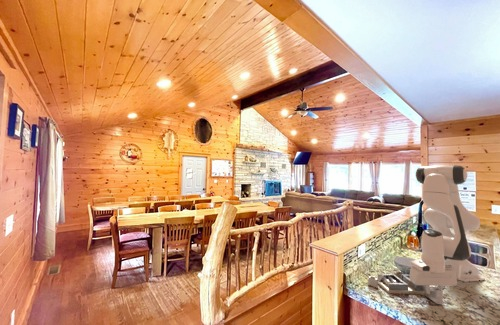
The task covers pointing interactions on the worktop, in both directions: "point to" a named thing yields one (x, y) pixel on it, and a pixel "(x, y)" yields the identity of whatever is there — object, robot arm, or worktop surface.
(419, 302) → the worktop surface
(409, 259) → the chinaware
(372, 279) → the lighter
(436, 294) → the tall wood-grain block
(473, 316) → the worktop surface
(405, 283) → the metal roller rack
